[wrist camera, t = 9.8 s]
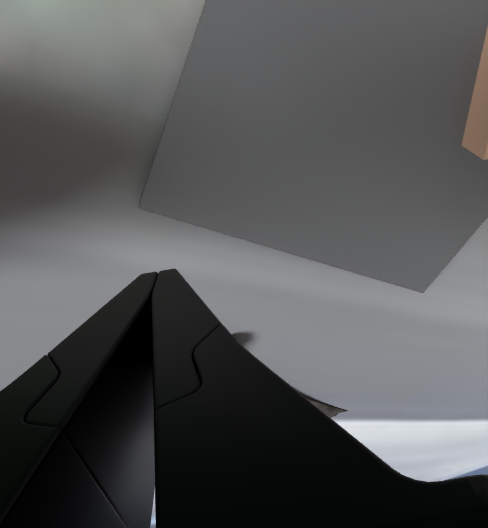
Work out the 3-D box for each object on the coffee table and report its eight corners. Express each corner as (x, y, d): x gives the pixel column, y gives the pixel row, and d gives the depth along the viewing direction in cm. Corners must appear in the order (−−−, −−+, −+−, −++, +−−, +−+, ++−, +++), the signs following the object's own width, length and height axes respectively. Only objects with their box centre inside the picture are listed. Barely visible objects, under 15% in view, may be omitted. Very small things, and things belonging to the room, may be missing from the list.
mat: (418, 287, 30) (423, 293, 29) (139, 202, 23) (138, 208, 22) (642, 18, 21) (653, 19, 20) (290, -258, 14) (294, -265, 13)
